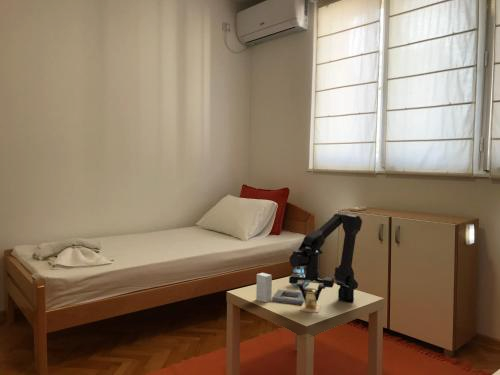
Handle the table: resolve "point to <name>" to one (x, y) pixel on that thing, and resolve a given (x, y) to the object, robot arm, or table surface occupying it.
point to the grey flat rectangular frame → (279, 298)
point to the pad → (304, 308)
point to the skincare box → (264, 287)
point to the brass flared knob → (310, 297)
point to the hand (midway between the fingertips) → (310, 299)
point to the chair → (301, 272)
